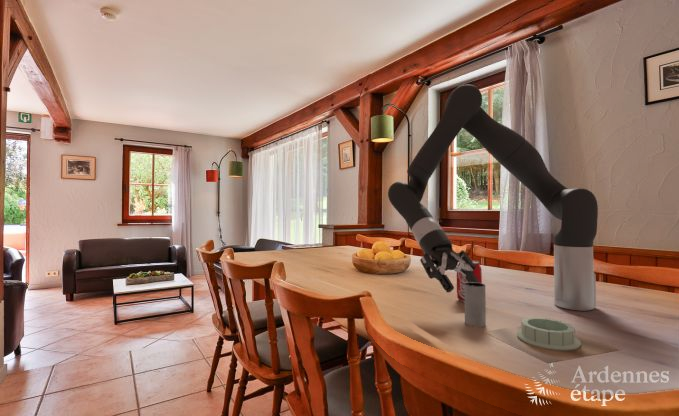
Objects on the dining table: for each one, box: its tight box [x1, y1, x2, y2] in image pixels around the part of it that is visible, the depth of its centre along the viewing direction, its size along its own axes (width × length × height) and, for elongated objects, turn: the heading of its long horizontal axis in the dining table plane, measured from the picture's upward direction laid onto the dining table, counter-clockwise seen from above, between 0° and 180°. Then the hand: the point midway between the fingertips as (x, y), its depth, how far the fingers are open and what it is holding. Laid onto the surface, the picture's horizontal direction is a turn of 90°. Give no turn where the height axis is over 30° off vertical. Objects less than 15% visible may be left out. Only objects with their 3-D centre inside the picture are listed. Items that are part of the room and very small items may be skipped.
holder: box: [517, 317, 581, 351], centre depth 69 cm, size 11×11×3 cm
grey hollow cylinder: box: [464, 282, 487, 328], centre depth 80 cm, size 4×4×10 cm
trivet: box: [482, 325, 622, 364], centre depth 69 cm, size 18×16×1 cm
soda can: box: [456, 259, 483, 304], centre depth 103 cm, size 7×7×12 cm
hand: (464, 288), depth 83 cm, fingers open, 8 cm apart
